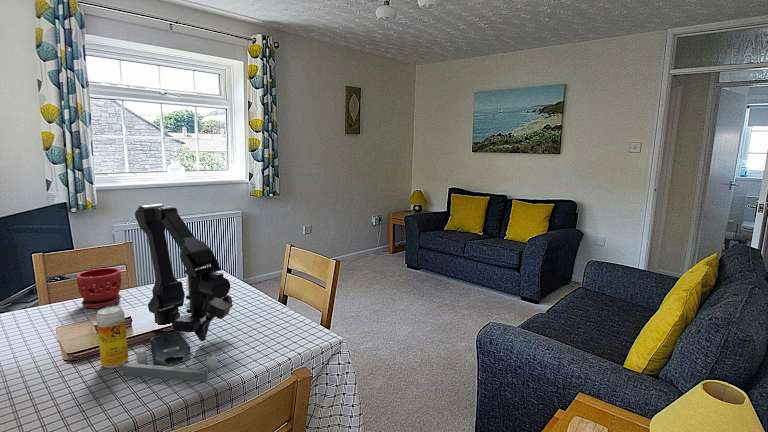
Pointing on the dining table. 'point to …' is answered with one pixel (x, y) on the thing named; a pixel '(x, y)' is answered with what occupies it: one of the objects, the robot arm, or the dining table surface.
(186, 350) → the electronic device
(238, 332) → the dining table surface
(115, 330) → the yellow pill bottle
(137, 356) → the dock
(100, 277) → the plant pot
